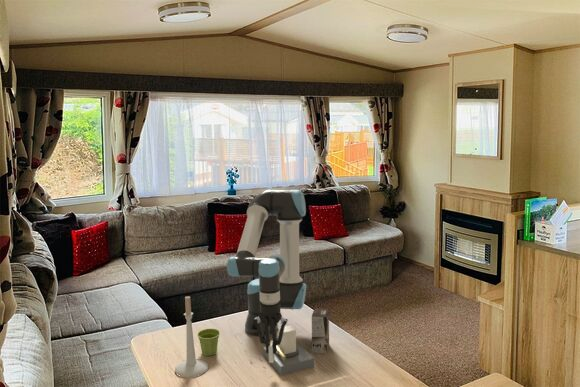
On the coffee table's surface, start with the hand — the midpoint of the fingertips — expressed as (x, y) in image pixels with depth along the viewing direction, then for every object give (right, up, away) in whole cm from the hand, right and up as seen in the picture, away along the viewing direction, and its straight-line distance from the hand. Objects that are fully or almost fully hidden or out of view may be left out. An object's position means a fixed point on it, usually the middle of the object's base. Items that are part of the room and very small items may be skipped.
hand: (271, 360), depth 184 cm
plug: (+6, -4, +11) cm, 13 cm away
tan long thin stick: (+2, +1, +9) cm, 9 cm away
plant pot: (-27, -4, +20) cm, 34 cm away
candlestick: (-32, -6, +7) cm, 33 cm away
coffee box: (+20, -2, +22) cm, 30 cm away
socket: (+6, -4, +11) cm, 13 cm away
